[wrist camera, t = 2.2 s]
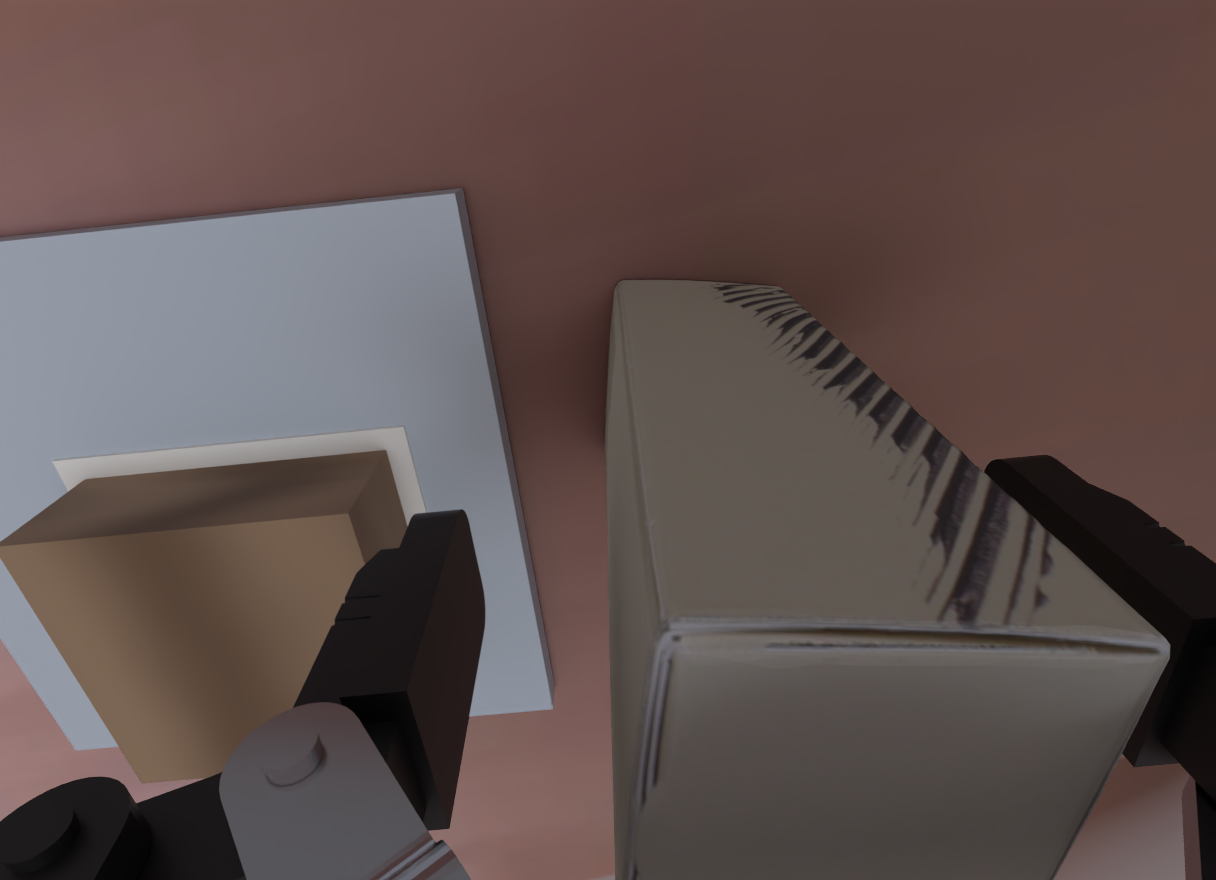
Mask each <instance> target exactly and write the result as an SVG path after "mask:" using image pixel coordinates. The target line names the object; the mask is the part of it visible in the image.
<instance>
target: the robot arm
mask: <svg viewBox="0 0 1216 880" xmlns="http://www.w3.org/2000/svg"><path fill="white" fill-rule="evenodd" d="M984 473H986V474H987V475H988V476H989V477H990V478H991V479H992V480H993V481H994V482H995V483H996V484H997V485H998V486H999V487H1000V488H1001V489H1002V490H1003V491H1005V492H1006V493H1007V494H1008V495H1009V496H1010V497H1012V498H1013V499H1014V500H1016V501H1017V502H1018V503H1019V504H1020V505H1021V506H1022V507H1023V508H1024V509H1025V510H1026V511H1027V512H1029V513H1030V514H1031V515H1032V516H1033V517H1034V518H1035V519H1036V520H1037V521H1038V522H1039V523H1040V524H1041V525H1042V526H1043V527H1044V528H1045V529H1046V530H1047V531H1048V532H1050V533H1051V534H1052V535H1053V536H1054V537H1055V538H1057V539H1058V540H1059V541H1060V542H1061V543H1062V544H1063V545H1065V546H1066V547H1067V548H1068V549H1069V550H1070V551H1071V552H1072V553H1074V554H1075V555H1076V556H1077V557H1078V558H1079V559H1080V560H1081V561H1082V562H1083V563H1084V564H1085V565H1086V566H1087V567H1089V568H1090V569H1091V570H1092V571H1093V572H1094V573H1095V574H1096V575H1097V576H1098V577H1099V578H1100V579H1101V580H1103V581H1104V582H1105V583H1106V584H1107V585H1108V586H1109V587H1110V588H1111V589H1112V590H1113V591H1114V592H1115V593H1117V594H1118V595H1119V596H1120V597H1121V598H1122V599H1123V600H1124V601H1125V602H1126V603H1127V604H1128V605H1129V606H1131V607H1132V608H1133V609H1134V610H1135V611H1136V612H1137V613H1138V614H1139V615H1141V616H1142V617H1143V618H1144V619H1145V620H1146V621H1147V622H1148V623H1149V624H1150V625H1152V626H1153V627H1154V628H1155V629H1156V630H1157V631H1158V632H1159V633H1160V634H1162V635H1163V636H1164V637H1165V638H1166V640H1167V641H1168V643H1169V644H1170V659H1169V661H1168V663H1167V665H1166V666H1165V668H1164V670H1163V672H1162V674H1161V676H1160V678H1159V680H1158V682H1157V684H1156V686H1155V688H1154V690H1153V692H1152V694H1151V696H1150V698H1149V700H1148V702H1147V704H1146V706H1145V708H1144V710H1143V712H1142V714H1141V716H1140V718H1139V720H1138V722H1137V724H1136V726H1135V728H1134V730H1133V732H1132V734H1131V736H1130V738H1129V740H1128V742H1127V744H1126V746H1125V748H1124V750H1123V753H1122V754H1123V755H1124V756H1125V757H1126V758H1127V760H1128V761H1129V762H1130V763H1131V764H1132V765H1133V766H1134V767H1142V766H1152V765H1163V764H1173V763H1180V764H1181V765H1182V767H1183V768H1184V769H1185V770H1186V771H1187V772H1188V773H1189V774H1190V775H1189V778H1188V780H1187V782H1186V784H1185V786H1184V788H1183V791H1182V814H1183V835H1184V855H1185V873H1186V880H1216V563H1214V562H1213V561H1212V560H1210V559H1209V558H1207V557H1206V556H1205V555H1203V554H1202V553H1200V552H1199V551H1198V550H1196V549H1195V548H1194V547H1192V546H1185V544H1184V540H1182V539H1181V538H1180V537H1178V536H1177V535H1176V534H1174V533H1173V532H1171V531H1170V530H1169V529H1167V528H1166V527H1160V526H1159V522H1157V521H1156V520H1155V519H1153V518H1152V517H1151V516H1149V515H1148V514H1146V513H1145V512H1144V511H1142V510H1141V509H1139V508H1138V507H1137V506H1135V505H1134V504H1132V503H1131V502H1130V501H1128V500H1126V499H1123V498H1121V497H1119V496H1117V495H1114V494H1112V493H1110V492H1107V491H1105V490H1103V489H1100V488H1098V487H1096V486H1094V485H1091V484H1089V483H1087V482H1086V481H1085V480H1083V479H1082V478H1081V477H1079V476H1078V475H1077V474H1075V473H1074V472H1072V471H1071V470H1070V469H1068V468H1067V467H1066V466H1064V465H1063V464H1062V463H1060V462H1059V461H1058V460H1056V459H1055V458H1053V457H1051V456H1048V455H1038V456H1028V457H1017V458H1007V459H997V460H993V461H991V462H990V463H989V464H988V465H987V467H986V469H985V471H984ZM334 621H335V624H334V625H332V626H331V628H330V630H329V632H328V634H327V636H326V638H325V641H324V643H323V645H322V647H321V649H320V651H319V653H318V655H317V658H316V660H315V662H314V664H313V666H312V668H311V670H310V672H309V674H308V677H307V679H306V681H305V683H304V685H303V687H302V689H301V691H300V694H299V696H298V698H297V700H296V702H295V704H294V706H293V708H292V709H289V710H287V711H284V712H282V713H280V714H278V715H276V716H274V717H273V718H271V719H269V720H268V721H266V722H264V723H263V724H262V725H260V726H259V727H258V728H256V729H255V730H254V731H252V732H251V733H250V734H249V735H248V736H247V737H246V738H245V739H244V740H243V741H242V742H241V743H240V744H239V745H238V747H237V748H236V749H235V750H234V752H233V753H232V755H231V756H230V758H229V759H228V761H227V763H226V765H225V767H224V769H223V772H221V773H218V774H216V775H213V776H211V777H209V778H206V779H203V780H200V781H198V782H195V783H192V784H189V785H186V786H184V787H181V788H178V789H175V790H173V791H170V792H167V793H164V794H161V795H159V796H156V797H153V798H150V799H148V800H145V801H142V802H139V803H135V801H134V800H133V798H132V796H131V795H130V793H129V792H128V790H127V788H126V787H125V785H123V784H122V783H121V782H119V781H118V780H115V779H112V778H108V777H88V778H83V779H79V780H75V781H72V782H68V783H65V784H62V785H60V786H58V787H55V788H53V789H51V790H48V791H46V792H44V793H43V794H41V795H39V796H37V797H35V798H33V799H32V800H30V801H28V802H27V803H25V804H24V805H22V806H20V807H19V808H17V809H16V810H15V811H13V812H12V813H11V814H9V815H8V816H7V817H5V818H4V819H3V820H2V821H0V880H471V879H470V877H469V875H468V874H467V872H466V871H465V869H464V868H463V866H462V864H461V863H460V861H459V860H458V858H457V857H456V855H455V854H454V853H453V851H452V850H451V849H450V847H449V846H448V845H447V844H446V843H445V842H444V841H443V840H440V841H439V842H437V843H436V842H435V841H434V839H433V838H432V837H431V835H430V834H429V832H428V831H429V830H440V829H449V827H450V822H451V816H452V810H453V805H454V799H455V794H456V788H457V782H458V777H459V771H460V765H461V760H462V754H463V748H464V743H465V737H466V732H467V726H468V720H469V715H470V709H471V703H472V698H473V692H474V686H475V681H476V675H477V669H478V664H479V658H480V653H481V647H482V641H483V636H484V630H485V597H484V590H483V585H482V580H481V576H480V571H479V566H478V562H477V557H476V552H475V548H474V543H473V539H472V534H471V529H470V525H469V521H468V517H467V515H466V513H465V511H464V510H463V509H459V510H448V511H438V512H427V513H417V514H414V515H413V516H412V517H411V519H410V522H409V524H408V527H407V529H406V532H405V534H404V537H403V539H402V542H401V544H400V547H399V548H392V549H382V550H380V551H379V552H378V553H377V554H376V555H374V556H373V557H372V558H371V559H370V560H369V561H368V562H367V563H366V564H365V565H364V566H363V567H362V568H361V569H360V570H359V571H358V572H357V573H356V575H355V577H354V579H353V581H352V583H351V586H350V588H349V590H348V592H347V594H346V596H345V603H342V605H341V607H340V609H339V611H338V613H337V615H336V617H335V619H334Z"/></svg>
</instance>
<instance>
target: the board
mask: <svg viewBox="0 0 1216 880" xmlns="http://www.w3.org/2000/svg"><path fill="white" fill-rule="evenodd" d="M380 450H386V451H387V455H388V458H389V462H390V466H391V469H392V473H393V476H394V480H395V483H396V487H397V491H398V494H399V498H400V501H401V505H402V508H403V512H404V516H405V519H406V523H407V526H408V524H409V522H410V519H411V517H412V516H413V515H414V514H417V513H427V512H438V511H448V510H459V509H463V510H464V511H465V513H466V515H467V517H468V521H469V525H470V529H471V534H472V539H473V543H474V548H475V552H476V557H477V562H478V566H479V571H480V576H481V580H482V585H483V590H484V597H485V630H484V636H483V641H482V647H481V653H480V658H479V664H478V669H477V675H476V681H475V686H474V692H473V698H472V703H471V709H470V715H469V716H480V715H491V714H503V713H514V712H526V711H538V710H549V709H553V702H554V686H555V685H554V680H553V674H552V669H551V663H550V658H549V652H548V647H547V642H546V636H545V631H544V625H543V620H542V615H541V609H540V604H539V598H538V593H537V587H536V582H535V577H534V571H533V566H532V560H531V555H530V549H529V544H528V539H527V533H526V528H525V522H524V517H523V512H522V506H521V501H520V495H519V490H518V484H517V479H516V474H515V468H514V463H513V457H512V452H511V446H510V441H509V436H508V430H507V425H506V419H505V414H504V408H503V403H502V398H501V392H500V387H499V381H498V376H497V371H496V365H495V360H494V354H493V349H492V343H491V338H490V333H489V327H488V322H487V316H486V311H485V305H484V300H483V295H482V289H481V284H480V278H479V273H478V268H477V262H476V257H475V251H474V246H473V240H472V235H471V230H470V224H469V219H468V213H467V208H466V202H465V197H464V192H463V188H459V189H449V190H440V191H431V192H421V193H412V194H402V195H393V196H384V197H374V198H365V199H356V200H346V201H337V202H327V203H318V204H309V205H299V206H290V207H281V208H271V209H262V210H252V211H243V212H234V213H224V214H215V215H206V216H196V217H187V218H177V219H168V220H159V221H149V222H140V223H131V224H121V225H112V226H102V227H93V228H84V229H74V230H65V231H56V232H46V233H37V234H27V235H18V236H9V237H0V542H1V541H2V540H4V539H5V538H6V537H8V536H9V535H10V534H12V533H13V532H14V531H16V530H17V529H18V528H20V527H21V526H22V525H24V524H25V523H27V522H28V521H29V520H31V519H32V518H33V517H35V516H36V515H37V514H39V513H40V512H41V511H43V510H44V509H45V508H47V507H48V506H49V505H51V504H52V503H54V502H55V501H56V500H58V499H59V498H60V497H62V496H63V495H64V494H66V493H67V492H68V491H70V490H71V489H72V488H74V487H75V486H76V485H78V484H79V483H80V482H82V481H83V480H85V479H92V478H102V477H112V476H123V475H133V474H143V473H153V472H164V471H174V470H184V469H195V468H205V467H215V466H226V465H236V464H246V463H257V462H267V461H277V460H288V459H298V458H308V457H318V456H329V455H339V454H349V453H360V452H370V451H380ZM0 639H1V640H2V642H3V643H4V645H5V646H6V648H7V649H8V651H9V652H10V653H11V655H12V656H13V658H14V659H15V661H16V662H17V664H18V665H19V667H20V668H21V670H22V671H23V673H24V674H25V676H26V677H27V679H28V680H29V682H30V683H31V685H32V686H33V688H34V689H35V691H36V692H37V694H38V695H39V697H40V698H41V700H42V701H43V703H44V704H45V705H46V707H47V708H48V710H49V711H50V713H51V714H52V716H53V717H54V719H55V720H56V722H57V723H58V725H59V726H60V728H61V729H62V731H63V732H64V734H65V735H66V737H67V738H68V740H69V741H70V743H71V744H72V746H73V747H74V749H75V750H87V749H99V748H110V747H119V746H118V745H117V743H116V742H115V740H114V738H113V737H112V735H111V734H110V732H109V730H108V729H107V727H106V726H105V724H104V722H103V721H102V719H101V718H100V716H99V715H98V713H97V711H96V710H95V708H94V707H93V705H92V703H91V702H90V700H89V699H88V697H87V695H86V694H85V692H84V691H83V689H82V687H81V686H80V684H79V683H78V681H77V679H76V678H75V676H74V675H73V673H72V672H71V670H70V668H69V667H68V665H67V664H66V662H65V660H64V659H63V657H62V656H61V654H60V652H59V651H58V649H57V648H56V646H55V644H54V643H53V641H52V640H51V638H50V637H49V635H48V633H47V632H46V630H45V629H44V627H43V625H42V624H41V622H40V621H39V619H38V617H37V616H36V614H35V613H34V611H33V609H32V608H31V606H30V605H29V603H28V601H27V600H26V598H25V597H24V595H23V594H22V592H21V590H20V589H19V587H18V586H17V584H16V582H15V581H14V579H13V578H12V576H11V574H10V573H9V571H8V570H7V568H6V566H5V565H4V563H3V562H2V560H1V559H0Z"/></svg>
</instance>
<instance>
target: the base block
mask: <svg viewBox="0 0 1216 880" xmlns="http://www.w3.org/2000/svg"><path fill="white" fill-rule="evenodd" d="M407 527H408V526H407V523H406V519H405V516H404V512H403V508H402V505H401V501H400V498H399V494H398V491H397V487H396V483H395V480H394V476H393V473H392V469H391V466H390V462H389V458H388V455H387V451H386V450H380V451H370V452H360V453H349V454H339V455H329V456H318V457H308V458H298V459H288V460H277V461H267V462H257V463H246V464H236V465H226V466H215V467H205V468H195V469H184V470H174V471H164V472H153V473H143V474H133V475H123V476H112V477H102V478H92V479H85V480H83V481H82V482H80V483H79V484H78V485H76V486H75V487H74V488H72V489H71V490H70V491H68V492H67V493H66V494H64V495H63V496H62V497H60V498H59V499H58V500H56V501H55V502H54V503H52V504H51V505H49V506H48V507H47V508H45V509H44V510H43V511H41V512H40V513H39V514H37V515H36V516H35V517H33V518H32V519H31V520H29V521H28V522H27V523H25V524H24V525H22V526H21V527H20V528H18V529H17V530H16V531H14V532H13V533H12V534H10V535H9V536H8V537H6V538H5V539H4V540H2V541H1V542H0V559H1V560H2V562H3V563H4V565H5V566H6V568H7V570H8V571H9V573H10V574H11V576H12V578H13V579H14V581H15V582H16V584H17V586H18V587H19V589H20V590H21V592H22V594H23V595H24V597H25V598H26V600H27V601H28V603H29V605H30V606H31V608H32V609H33V611H34V613H35V614H36V616H37V617H38V619H39V621H40V622H41V624H42V625H43V627H44V629H45V630H46V632H47V633H48V635H49V637H50V638H51V640H52V641H53V643H54V644H55V646H56V648H57V649H58V651H59V652H60V654H61V656H62V657H63V659H64V660H65V662H66V664H67V665H68V667H69V668H70V670H71V672H72V673H73V675H74V676H75V678H76V679H77V681H78V683H79V684H80V686H81V687H82V689H83V691H84V692H85V694H86V695H87V697H88V699H89V700H90V702H91V703H92V705H93V707H94V708H95V710H96V711H97V713H98V715H99V716H100V718H101V719H102V721H103V722H104V724H105V726H106V727H107V729H108V730H109V732H110V734H111V735H112V737H113V738H114V740H115V742H116V743H117V745H118V746H119V748H120V750H121V751H122V753H123V754H124V756H125V757H126V759H127V761H128V762H129V764H130V765H131V767H132V769H133V770H134V772H135V773H136V775H137V777H138V778H139V780H140V781H141V783H152V782H163V781H175V780H187V779H199V778H209V777H211V776H213V775H216V774H218V773H221V772H223V769H224V767H225V765H226V763H227V761H228V759H229V758H230V756H231V755H232V753H233V752H234V750H235V749H236V748H237V747H238V745H239V744H240V743H241V742H242V741H243V740H244V739H245V738H246V737H247V736H248V735H249V734H250V733H251V732H252V731H254V730H255V729H256V728H258V727H259V726H260V725H262V724H263V723H264V722H266V721H268V720H269V719H271V718H273V717H274V716H276V715H278V714H280V713H282V712H284V711H287V710H289V709H292V708H293V706H294V704H295V702H296V700H297V698H298V696H299V694H300V691H301V689H302V687H303V685H304V683H305V681H306V679H307V677H308V674H309V672H310V670H311V668H312V666H313V664H314V662H315V660H316V658H317V655H318V653H319V651H320V649H321V647H322V645H323V643H324V641H325V638H326V636H327V634H328V632H329V630H330V628H331V626H332V625H334V624H335V621H334V619H335V617H336V615H337V613H338V611H339V609H340V607H341V605H342V603H345V596H346V594H347V592H348V590H349V588H350V586H351V583H352V581H353V579H354V577H355V575H356V573H357V572H358V571H359V570H360V569H361V568H362V567H363V566H364V565H365V564H366V563H367V562H368V561H369V560H370V559H371V558H372V557H373V556H374V555H376V554H377V553H378V552H379V551H380V550H382V549H392V548H399V547H400V544H401V542H402V539H403V537H404V534H405V532H406V529H407Z"/></svg>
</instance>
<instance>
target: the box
mask: <svg viewBox="0 0 1216 880" xmlns="http://www.w3.org/2000/svg"><path fill="white" fill-rule="evenodd" d="M605 461H606V487H607V530H608V592H609V649H610V690H611V730H612V767H613V804H614V844H615V880H1054V878H1055V876H1056V875H1057V873H1058V871H1059V869H1060V867H1061V866H1062V864H1063V862H1064V860H1065V858H1066V856H1067V855H1068V853H1069V851H1070V849H1071V847H1072V846H1073V844H1074V842H1075V840H1076V838H1077V837H1078V835H1079V833H1080V831H1081V829H1082V828H1083V826H1084V824H1085V823H1086V821H1087V819H1088V817H1089V815H1090V814H1091V812H1092V810H1093V808H1094V806H1095V805H1096V803H1097V801H1098V799H1099V797H1100V795H1101V794H1102V791H1103V789H1104V787H1105V785H1106V783H1107V780H1108V778H1109V777H1110V775H1111V773H1112V771H1113V770H1114V768H1115V766H1116V764H1117V763H1118V761H1119V759H1120V757H1121V755H1122V753H1123V750H1124V748H1125V746H1126V744H1127V742H1128V740H1129V738H1130V736H1131V734H1132V732H1133V730H1134V728H1135V726H1136V724H1137V722H1138V720H1139V718H1140V716H1141V714H1142V712H1143V710H1144V708H1145V706H1146V704H1147V702H1148V700H1149V698H1150V696H1151V694H1152V692H1153V690H1154V688H1155V686H1156V684H1157V682H1158V680H1159V678H1160V676H1161V674H1162V672H1163V670H1164V668H1165V666H1166V665H1167V663H1168V661H1169V659H1170V644H1169V643H1168V641H1167V640H1166V638H1165V637H1164V636H1163V635H1162V634H1160V633H1159V632H1158V631H1157V630H1156V629H1155V628H1154V627H1153V626H1152V625H1150V624H1149V623H1148V622H1147V621H1146V620H1145V619H1144V618H1143V617H1142V616H1141V615H1139V614H1138V613H1137V612H1136V611H1135V610H1134V609H1133V608H1132V607H1131V606H1129V605H1128V604H1127V603H1126V602H1125V601H1124V600H1123V599H1122V598H1121V597H1120V596H1119V595H1118V594H1117V593H1115V592H1114V591H1113V590H1112V589H1111V588H1110V587H1109V586H1108V585H1107V584H1106V583H1105V582H1104V581H1103V580H1101V579H1100V578H1099V577H1098V576H1097V575H1096V574H1095V573H1094V572H1093V571H1092V570H1091V569H1090V568H1089V567H1087V566H1086V565H1085V564H1084V563H1083V562H1082V561H1081V560H1080V559H1079V558H1078V557H1077V556H1076V555H1075V554H1074V553H1072V552H1071V551H1070V550H1069V549H1068V548H1067V547H1066V546H1065V545H1063V544H1062V543H1061V542H1060V541H1059V540H1058V539H1057V538H1055V537H1054V536H1053V535H1052V534H1051V533H1050V532H1048V531H1047V530H1046V529H1045V528H1044V527H1043V526H1042V525H1041V524H1040V523H1039V522H1038V521H1037V520H1036V519H1035V518H1034V517H1033V516H1032V515H1031V514H1030V513H1029V512H1027V511H1026V510H1025V509H1024V508H1023V507H1022V506H1021V505H1020V504H1019V503H1018V502H1017V501H1016V500H1014V499H1013V498H1012V497H1010V496H1009V495H1008V494H1007V493H1006V492H1005V491H1003V490H1002V489H1001V488H1000V487H999V486H998V485H997V484H996V483H995V482H994V481H993V480H992V479H991V478H990V477H989V476H988V475H987V474H986V473H984V472H983V471H982V470H980V469H979V468H978V467H977V466H975V465H974V464H973V463H972V462H971V461H970V460H969V459H968V458H967V457H966V456H965V454H964V453H963V452H962V451H961V450H959V449H958V448H957V447H955V446H954V445H953V444H952V443H950V442H949V441H948V440H947V439H946V438H945V437H944V436H943V435H942V434H941V433H940V432H939V431H938V430H937V429H936V428H935V427H934V426H933V425H932V424H930V423H929V422H928V421H927V420H925V419H924V418H923V417H921V416H920V415H919V414H918V413H917V412H916V411H915V410H914V409H913V407H912V406H911V405H910V404H909V403H907V402H906V401H905V400H904V399H902V398H901V397H900V396H899V395H898V394H897V393H896V392H895V391H893V390H892V388H891V387H890V386H889V385H887V384H886V383H885V382H883V381H882V380H881V379H880V378H879V377H878V376H877V375H876V374H875V373H874V372H873V371H872V370H871V369H870V368H868V367H867V366H866V365H865V364H864V363H863V362H862V361H861V360H860V359H859V358H858V357H857V356H856V355H855V354H853V353H852V352H851V351H849V350H848V349H847V348H846V347H845V346H844V345H843V343H842V342H840V341H839V340H838V339H837V338H835V337H834V336H833V335H832V334H831V333H830V332H829V331H828V330H827V329H826V328H825V327H823V326H822V325H821V324H820V323H819V322H818V321H817V319H815V318H814V317H813V316H811V314H810V313H809V312H808V311H806V310H805V309H804V308H803V307H802V306H801V305H799V304H798V303H797V302H796V301H795V300H794V299H793V298H792V297H791V296H790V295H789V294H787V293H786V291H785V290H784V289H782V288H781V287H777V286H766V285H752V284H739V283H725V282H708V281H690V280H622V281H620V282H618V284H617V285H616V287H615V290H614V298H613V308H612V319H611V330H610V344H609V359H608V378H607V398H606V425H605Z"/></svg>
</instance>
